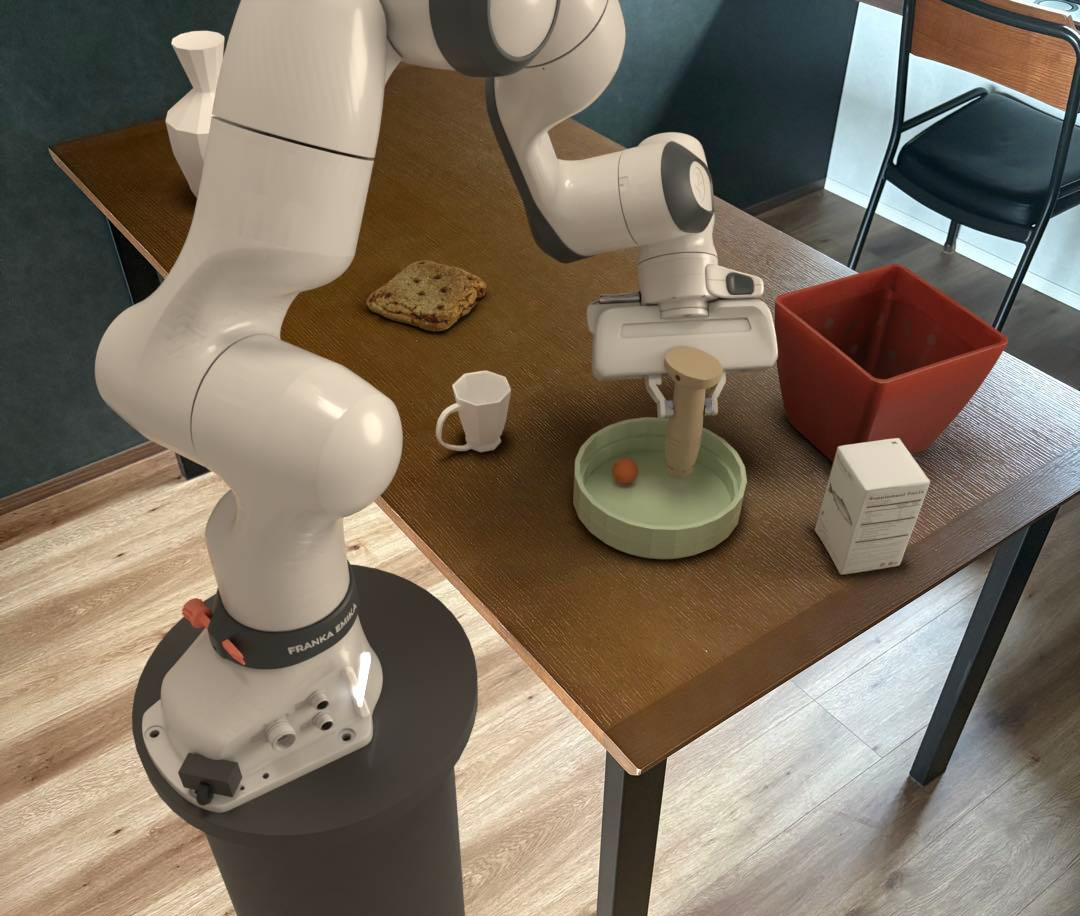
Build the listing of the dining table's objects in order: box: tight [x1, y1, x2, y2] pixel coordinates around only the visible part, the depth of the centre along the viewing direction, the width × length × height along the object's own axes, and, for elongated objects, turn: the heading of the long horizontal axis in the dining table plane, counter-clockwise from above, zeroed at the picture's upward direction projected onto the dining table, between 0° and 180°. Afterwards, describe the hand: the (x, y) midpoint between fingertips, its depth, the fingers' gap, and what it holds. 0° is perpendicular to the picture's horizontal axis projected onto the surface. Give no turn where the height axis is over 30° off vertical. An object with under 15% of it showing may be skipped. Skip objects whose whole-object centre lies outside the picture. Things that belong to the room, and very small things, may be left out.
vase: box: [165, 30, 225, 198], centre depth 166 cm, size 14×14×25 cm
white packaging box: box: [814, 438, 931, 575], centre depth 115 cm, size 7×7×13 cm
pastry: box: [365, 259, 487, 332], centre depth 153 cm, size 17×17×3 cm
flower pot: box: [774, 263, 1009, 464], centre depth 128 cm, size 19×19×17 cm
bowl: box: [572, 416, 748, 560], centre depth 123 cm, size 19×19×5 cm
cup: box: [435, 369, 512, 453], centre depth 129 cm, size 7×10×8 cm
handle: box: [664, 346, 723, 479], centre depth 119 cm, size 5×6×15 cm
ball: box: [612, 458, 638, 484], centre depth 125 cm, size 3×3×3 cm
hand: (688, 416), depth 118 cm, fingers closed on handle, 3 cm apart
